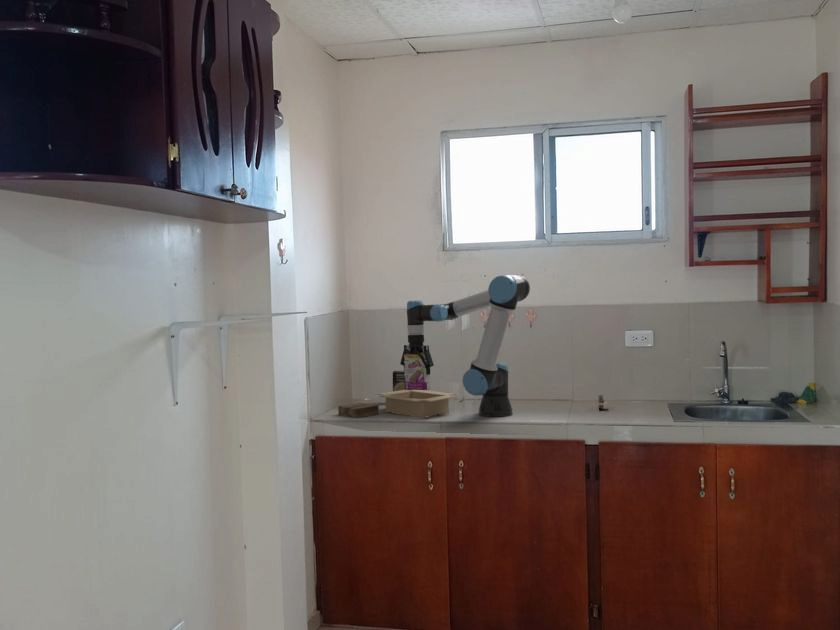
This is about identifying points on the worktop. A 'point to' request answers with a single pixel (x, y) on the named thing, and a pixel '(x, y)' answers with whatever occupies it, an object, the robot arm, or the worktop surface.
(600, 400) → the architectural model
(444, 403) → the carton
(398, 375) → the coffee box
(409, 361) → the candy bar box
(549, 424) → the worktop surface
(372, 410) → the plinth
